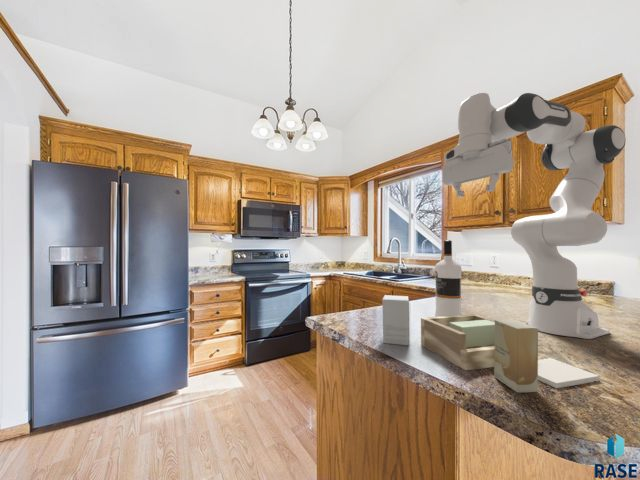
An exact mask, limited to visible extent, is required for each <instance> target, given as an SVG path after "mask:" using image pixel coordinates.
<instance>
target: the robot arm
mask: <svg viewBox="0 0 640 480" xmlns="http://www.w3.org/2000/svg"><path fill="white" fill-rule="evenodd" d="M458 111H459V112H458V118H457V119H458V120H457V121H458V123H457V127H458V128H457V129H458V132H459V138H458V141H457V142H458V143H457V144H456V145H455V146H454V147H453V148H452V149H450V150H449V151H448V152H447V153H445V154H444V156H443V161H445V163H443V167H442V183H443V184H444V185H445V186H451V187H453V189H454V190H455V192H456V197H457V198H462V197H465V190H462V189H461V187H462V184H464V183H469V182H472V181H473V182H474V181H476V180H482V179H485V178H490V182H489V183H488V184H486V186H485V188H486V189H485V191H486V192H489V193H490V192H495V191H496V185H497V183H498V181H499V180H500V175H502V174H507V173H510V172H512V170H513V169H514V167H515V165H514V164H515V163H514V158H513V157H514V156H513V152H512V150H513V141H512V140H510V139H511V138H513V137H516V136H519V135H521V134H523V133H526V136H527V138H528V140H529V141H530V142H532V143H534V144H538V145H545V146H544V148H543V149H542V153H541V157H540V158H541V164H542V165H543V167H544V168H546V169H547V170H548V171H562V170H565V169H568V172H567V174H566V175H565V176H564V177H563V178H562V179H561V180H560V182H559V184H558V185H557V187H556V189H555V190H554V192H553V193H552V195H551V197H550V198H549V207H550V208H551V211H553V213H548V214H547V213H546V214H538V215H537V214H536V215H530V216H526V217H523V218H522V217H521V218H519V219H516V220H515V221H514V223H513V224H512V226H511V229H510V235H511V238H512V239H513V241H514V242H515V243H517V244H518V245H520V247H522V248H523V250H525V252H526V253H527V255H528V258H529V260H530V262H531V266H532V279H533V280H532V281H533V283H532V284H533V285H532V286H531V296H532V299H531V300H530V302H529V310H528V311H529V312H528V318H527V319H525V324H527V325H530V326H532V327H535V328H538V332H543V333H547V334H551V335H557V336H562V337H563V336H565V337H572V338H573V337H574V338H579V339H580V338H581V339H587V340H593V339H595V338H599V337H602V336H604V335H608V334H610V330H609V329H608V328H606V327H605V328H604V327H602V326H600V324H599V315H598V313H597V312H596V311H594V310H593V309H592V308H590V306H589V305H587V304H586V303H585V302H584V301H583V298H582V297H587V295H588V292H587V290H586V289H579V288H578V267H577V266H576V264H575V263H574V262H573V261H572V260H570V259H568V258H566V257H564V256H562V255H561V253H560V252H559V249H558V247H579V246H586V245H587V246H588V245H592V244H598V243H599V242H600V241H602V240H603V238H604V237H605V236H606V234H607V230H608V224H607V222H606V219H605V218H604V217H603V216H602V215H601V214H599V213H598V212H595V211H594V210H592V207H593V206H594V203H595V200H596V198H597V197H598V195H599V193H600V192H601V190H602V187H603V184H604V181H605V178H606V177H605V175H606V173H605V170H604V168H603V166H604V165H609V164H611V163H612V162H613V161H614V160H615V158H616V157H617V156H619V155H620V153H621V152H622V151H623V149H624V147H625V146H626V139H627V138H626V135H625V132H624V131H623V129H622V128H621V127H620V126H618V125H612V124H611V125H605V126H603V125H602V126H599V127H597V128H595V129H591V130H587V131H584V130H585V128H586V123H587V122H586V117H584V115H582V114H580V113H578V112H576V111H573V110H570V108H569V107H568V106H566V105H565V104H563V103H562V104H561V103H558V102H555V101H550V100H547V99H545V98H543V97H542V96H540V95H538V94H536V93H531V92H525V93H522V94H521V95H519V96H518V97H516V98H515V99H513V100H512V101H510V102H508V103H506V104H504V105H502V106H501V107H499V108H496V107H494V105H492V103H491V97H490V96H489V93H486V92H481V93H480V92H479V93H477V94H473V95H472V96H469V97H468V98H466V99H465V100H463V101H462V102H461V104H460V106H459V110H458Z"/></svg>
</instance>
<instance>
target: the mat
mask: <svg viewBox="0 0 640 480" xmlns="http://www.w3.org/2000/svg"><path fill="white" fill-rule="evenodd" d="M600 379H601V378H600V375H599V374H595V373H593V372H590V371H587V370H585V369H581V368H579V367H576V366H574V365H571V364H568V363H565V362H563V361H560V360H558V359H555V358H551V357H549V358H544V359H538V382H541V383H544V384H546V385H548V386H550V387H553V388H555V389H560V388H561V389H562V388H567V387H571V386H572V387H573V386H578V385H583V384H589V383H594V381H596V382H600V381H599V380H600Z"/></svg>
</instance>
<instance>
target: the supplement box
mask: <svg viewBox="0 0 640 480" xmlns="http://www.w3.org/2000/svg"><path fill="white" fill-rule="evenodd" d="M381 301H382V342H383V344H391V345H400V346H401V345H402V346H410V333H411V332H410V300H409V296H408V295H407V296H405V295H392V294H390V295H389V294H388V295H387V294H384V296H383V297H382V300H381Z"/></svg>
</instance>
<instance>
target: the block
mask: <svg viewBox="0 0 640 480" xmlns="http://www.w3.org/2000/svg"><path fill="white" fill-rule="evenodd" d="M449 327H450V328H453V329H455V330H458V331H460V332H463V333H465V334H466V347H475V346H484V345H493V344H495V322H492V321H489V320H475V321H462V322H449Z"/></svg>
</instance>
